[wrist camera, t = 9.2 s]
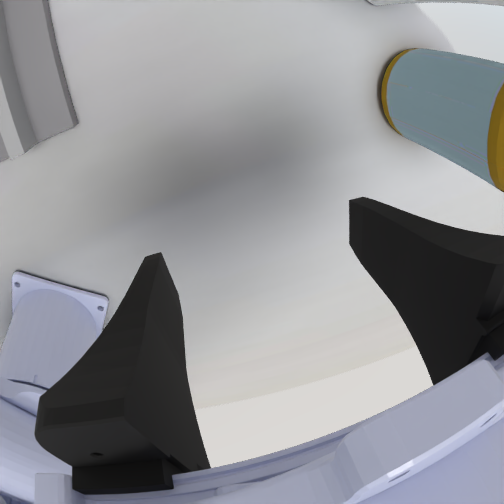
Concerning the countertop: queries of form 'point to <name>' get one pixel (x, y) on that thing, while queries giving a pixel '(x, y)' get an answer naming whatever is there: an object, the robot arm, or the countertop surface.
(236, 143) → the countertop surface
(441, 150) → the bottle
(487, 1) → the syrup box
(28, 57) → the rail
